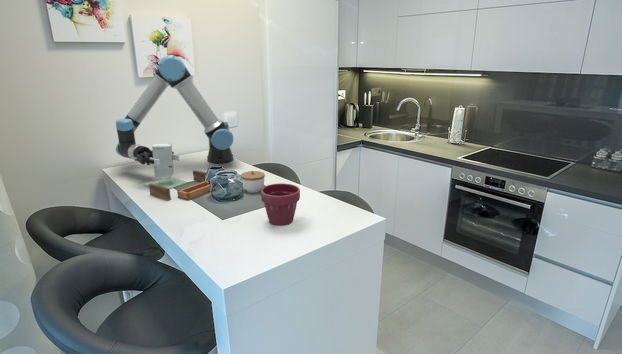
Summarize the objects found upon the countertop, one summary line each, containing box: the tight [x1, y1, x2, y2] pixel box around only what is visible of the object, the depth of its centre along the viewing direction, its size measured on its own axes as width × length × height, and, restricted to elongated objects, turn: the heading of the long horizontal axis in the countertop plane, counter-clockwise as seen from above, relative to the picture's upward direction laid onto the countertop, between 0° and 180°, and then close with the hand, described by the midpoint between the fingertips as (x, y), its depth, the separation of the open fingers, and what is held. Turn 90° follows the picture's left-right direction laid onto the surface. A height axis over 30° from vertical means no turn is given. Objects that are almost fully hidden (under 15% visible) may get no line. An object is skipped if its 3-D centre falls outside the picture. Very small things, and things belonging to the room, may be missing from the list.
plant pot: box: [260, 183, 301, 227], centre depth 129 cm, size 14×14×13 cm
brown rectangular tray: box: [176, 181, 211, 201], centre depth 157 cm, size 16×6×3 cm, turn 148°
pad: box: [144, 176, 189, 190], centre depth 168 cm, size 14×14×1 cm
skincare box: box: [151, 143, 175, 178], centre depth 164 cm, size 8×6×15 cm
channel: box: [148, 169, 207, 201], centre depth 161 cm, size 26×12×5 cm, turn 148°
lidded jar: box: [240, 170, 266, 193], centre depth 160 cm, size 11×11×9 cm
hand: (169, 160), depth 162 cm, fingers closed on skincare box, 9 cm apart
